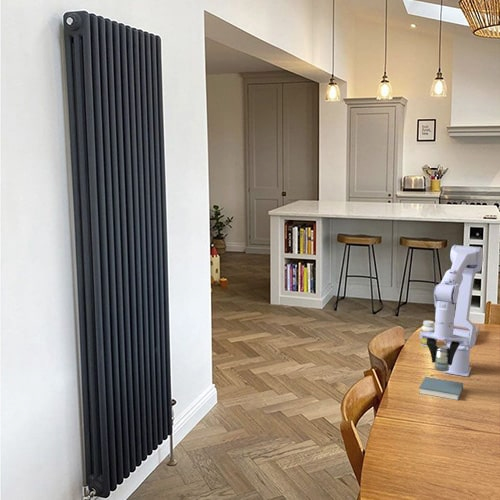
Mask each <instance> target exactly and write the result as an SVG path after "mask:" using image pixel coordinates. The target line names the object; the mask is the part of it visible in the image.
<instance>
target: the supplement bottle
mask: <svg viewBox="0 0 500 500" xmlns="http://www.w3.org/2000/svg"><path fill="white" fill-rule="evenodd" d="M434 324H435V321H433V320H426V319H425V320H423V322H422V326H421V329H420V332H421V331H423V332H434V331H435V327H433V326H434ZM426 342H427V339H424V338H423V339H420V345H421V346H422V347H426V348H428V346H427V343H426Z"/></svg>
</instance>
